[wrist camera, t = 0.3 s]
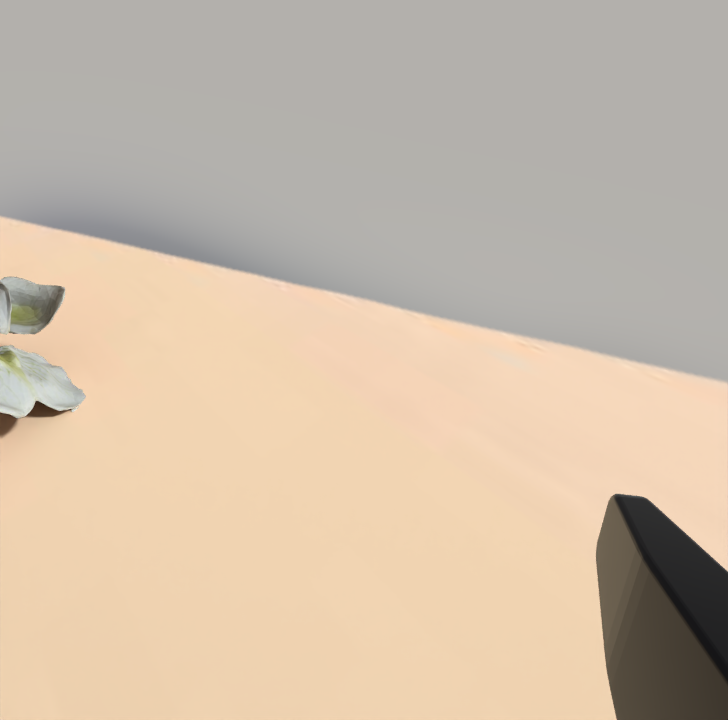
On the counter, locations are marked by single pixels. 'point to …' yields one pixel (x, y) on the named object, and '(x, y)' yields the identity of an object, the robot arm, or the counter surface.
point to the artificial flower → (29, 370)
